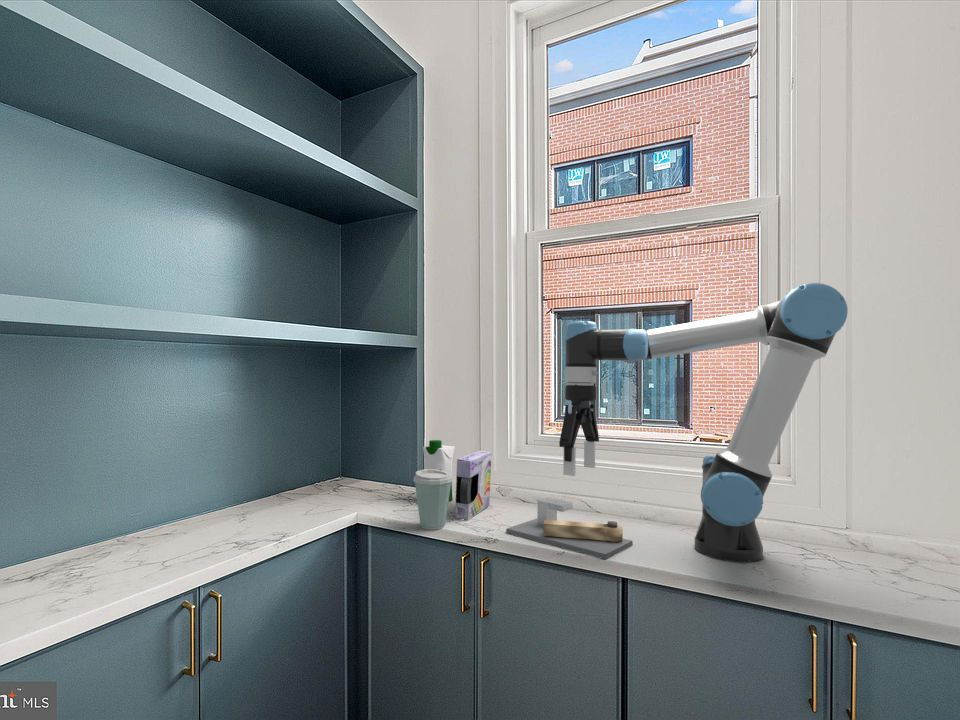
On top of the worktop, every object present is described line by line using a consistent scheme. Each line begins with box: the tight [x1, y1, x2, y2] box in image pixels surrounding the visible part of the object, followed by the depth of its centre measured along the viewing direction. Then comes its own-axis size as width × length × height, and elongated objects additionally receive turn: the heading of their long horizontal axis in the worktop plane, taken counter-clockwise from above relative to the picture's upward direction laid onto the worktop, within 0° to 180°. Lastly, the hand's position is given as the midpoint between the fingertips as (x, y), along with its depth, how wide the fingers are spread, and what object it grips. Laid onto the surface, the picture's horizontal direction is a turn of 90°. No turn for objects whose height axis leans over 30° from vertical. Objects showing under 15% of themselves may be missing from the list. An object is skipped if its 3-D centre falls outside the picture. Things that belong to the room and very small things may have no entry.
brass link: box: [543, 519, 624, 542], centre depth 135 cm, size 20×5×4 cm, turn 79°
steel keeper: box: [536, 497, 574, 527], centre depth 145 cm, size 8×5×8 cm, turn 49°
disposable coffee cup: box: [412, 469, 453, 531], centre depth 146 cm, size 11×11×15 cm
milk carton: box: [422, 439, 456, 503], centre depth 176 cm, size 9×9×20 cm
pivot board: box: [505, 518, 634, 560], centre depth 137 cm, size 29×14×1 cm, turn 49°
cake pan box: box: [454, 450, 493, 521], centre depth 162 cm, size 19×5×18 cm, turn 159°
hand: (579, 471), depth 131 cm, fingers open, 13 cm apart
